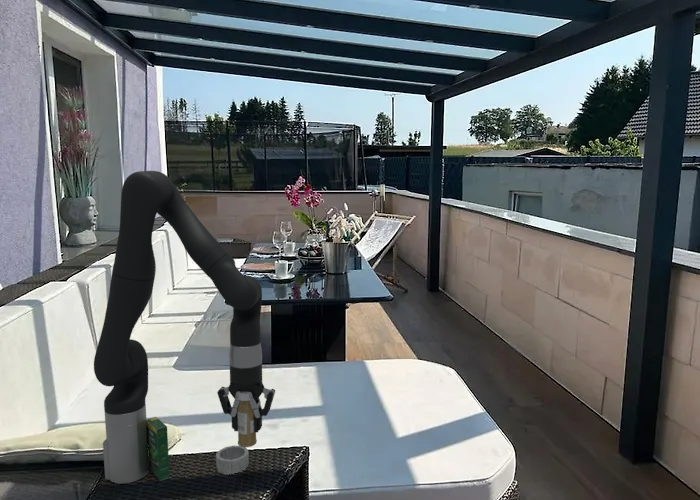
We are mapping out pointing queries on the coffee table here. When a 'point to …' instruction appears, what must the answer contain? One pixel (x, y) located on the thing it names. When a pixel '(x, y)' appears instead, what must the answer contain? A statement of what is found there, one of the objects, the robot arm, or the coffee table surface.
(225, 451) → the aluminium ring
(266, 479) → the coffee table surface
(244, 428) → the sprinkles bottle
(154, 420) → the coffee box
